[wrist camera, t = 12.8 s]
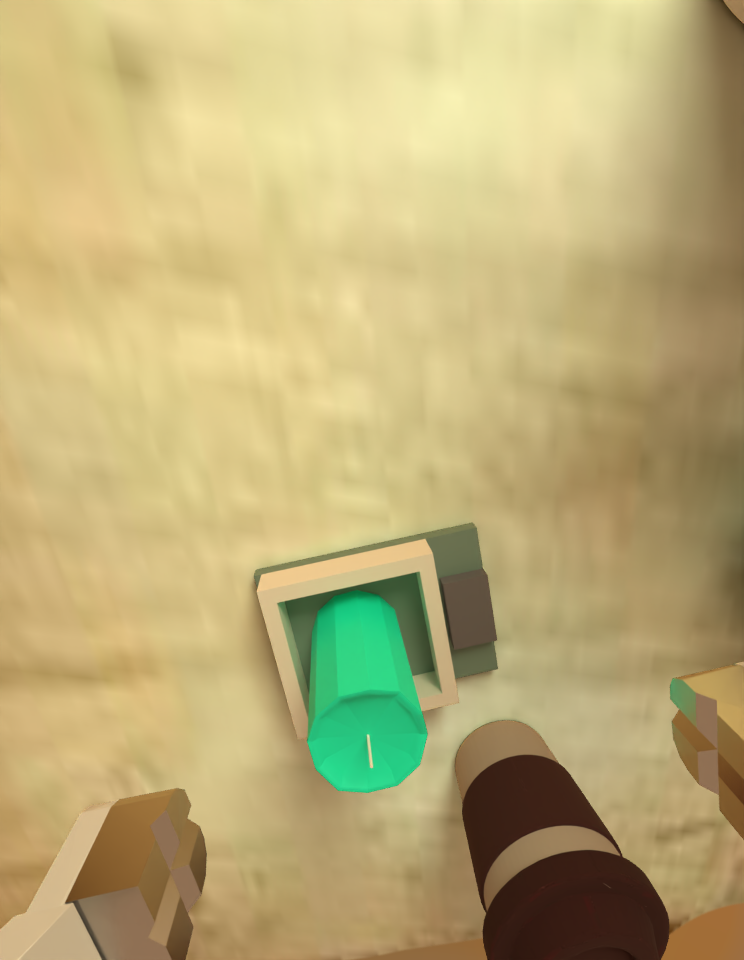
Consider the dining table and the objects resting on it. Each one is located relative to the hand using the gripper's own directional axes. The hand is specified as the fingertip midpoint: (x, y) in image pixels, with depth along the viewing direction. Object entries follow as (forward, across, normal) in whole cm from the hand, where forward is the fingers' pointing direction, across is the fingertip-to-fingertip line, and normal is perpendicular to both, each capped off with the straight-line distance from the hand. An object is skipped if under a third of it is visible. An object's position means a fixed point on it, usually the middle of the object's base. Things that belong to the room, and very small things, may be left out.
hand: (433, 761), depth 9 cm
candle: (+25, +3, +12) cm, 28 cm away
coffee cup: (+26, -5, +26) cm, 37 cm away
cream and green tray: (+26, +1, +12) cm, 28 cm away
